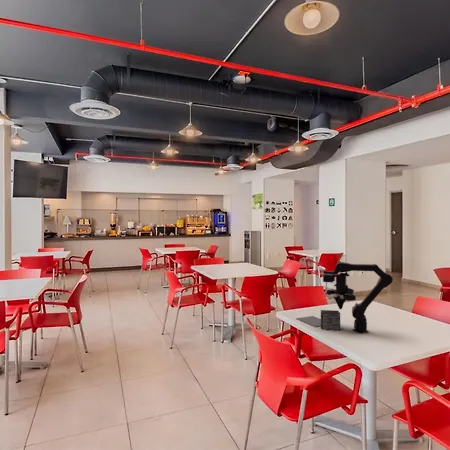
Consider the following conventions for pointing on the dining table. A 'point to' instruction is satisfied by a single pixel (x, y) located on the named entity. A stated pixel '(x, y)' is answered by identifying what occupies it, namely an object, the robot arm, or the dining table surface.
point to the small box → (330, 320)
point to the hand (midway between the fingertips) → (340, 309)
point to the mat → (311, 321)
